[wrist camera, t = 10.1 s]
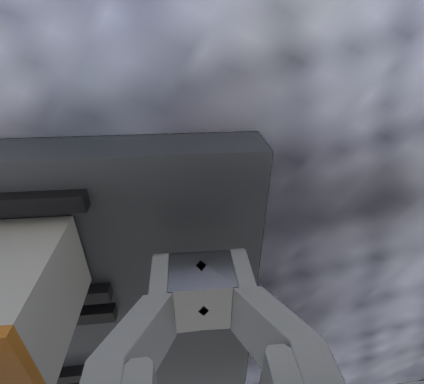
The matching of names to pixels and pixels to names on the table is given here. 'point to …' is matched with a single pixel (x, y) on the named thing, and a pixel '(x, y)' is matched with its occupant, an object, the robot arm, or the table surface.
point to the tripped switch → (39, 296)
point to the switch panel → (145, 225)
